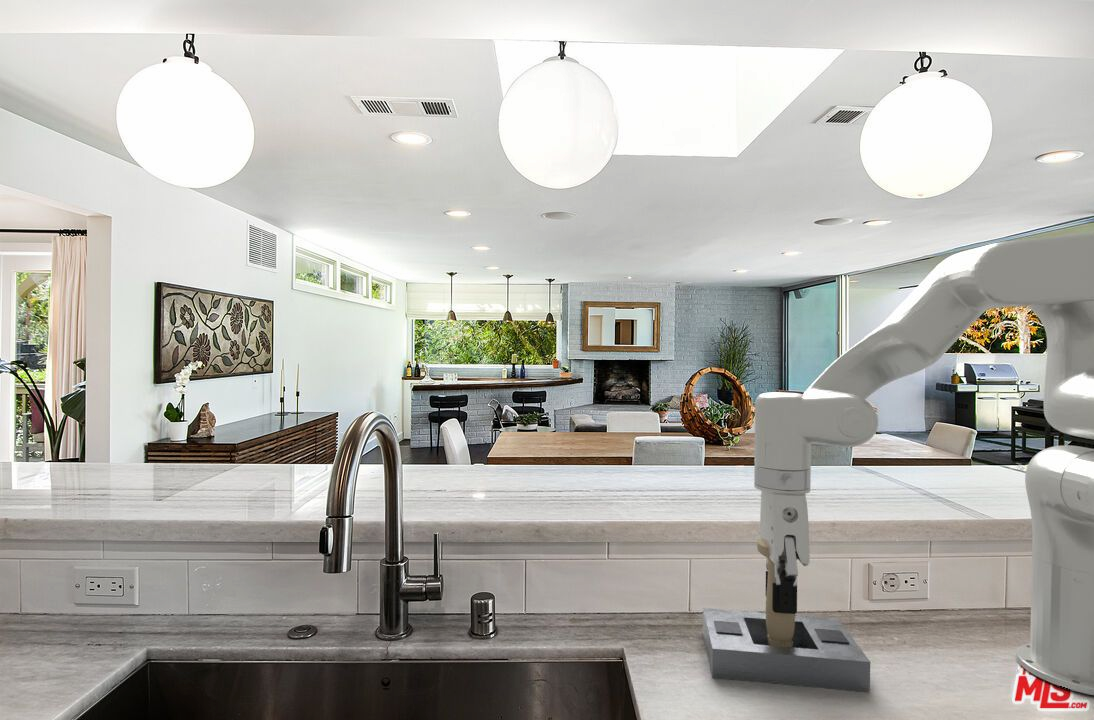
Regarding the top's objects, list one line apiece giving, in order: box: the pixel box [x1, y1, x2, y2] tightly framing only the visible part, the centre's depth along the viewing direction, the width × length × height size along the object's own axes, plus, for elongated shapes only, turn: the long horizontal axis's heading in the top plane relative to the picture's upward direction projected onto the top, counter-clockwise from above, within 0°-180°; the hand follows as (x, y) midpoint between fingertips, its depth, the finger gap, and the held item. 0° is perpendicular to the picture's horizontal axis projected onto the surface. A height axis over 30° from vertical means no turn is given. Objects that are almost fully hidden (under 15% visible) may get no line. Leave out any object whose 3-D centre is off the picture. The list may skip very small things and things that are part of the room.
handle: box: [756, 538, 799, 647], centre depth 86 cm, size 5×6×15 cm
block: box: [702, 607, 871, 693], centre depth 86 cm, size 20×13×4 cm, turn 81°
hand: (780, 604), depth 86 cm, fingers closed on handle, 3 cm apart
